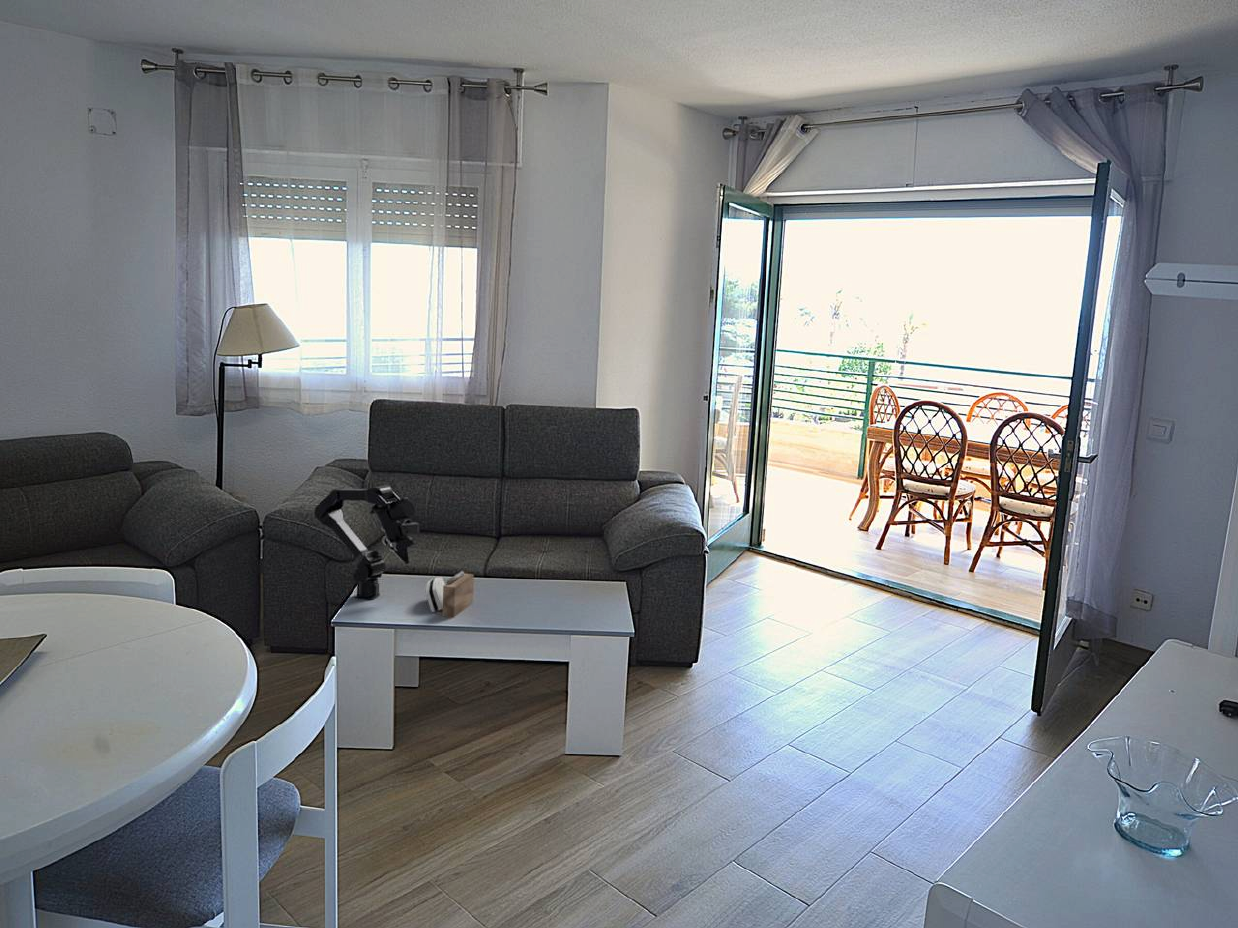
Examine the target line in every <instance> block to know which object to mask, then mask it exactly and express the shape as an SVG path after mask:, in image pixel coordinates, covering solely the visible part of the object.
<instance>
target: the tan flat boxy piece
mask: <svg viewBox="0 0 1238 928" xmlns="http://www.w3.org/2000/svg"><path fill="white" fill-rule="evenodd" d="M474 576H475V575H474V574H471V573H465V572H464V571H462V570H461V571H459V572H458V573H457V574H454V576H452V577H450V578H448V580H446V581H445V582H446V584H445V585H444V586H443V609H442V615H441V616H443V617H450V618H455V617H456V616H458V615H459V614H460V613H461V612H463V611H464V610H465V609H467V608H468V607H469V606H471V605H473V603H474V579H475V578H474Z"/></svg>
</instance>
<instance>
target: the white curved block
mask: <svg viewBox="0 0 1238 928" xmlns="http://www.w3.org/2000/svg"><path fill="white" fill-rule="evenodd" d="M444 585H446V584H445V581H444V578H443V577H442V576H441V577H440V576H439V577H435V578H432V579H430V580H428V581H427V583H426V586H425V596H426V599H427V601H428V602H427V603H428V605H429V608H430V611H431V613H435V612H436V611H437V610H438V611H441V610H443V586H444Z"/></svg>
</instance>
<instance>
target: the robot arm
mask: <svg viewBox="0 0 1238 928" xmlns="http://www.w3.org/2000/svg"><path fill="white" fill-rule="evenodd" d="M345 501H365V502H367V503H368V504H372V505H373V506H372V507H371V510H370V512H369V514H370V515H373V514H374V515H375V516H376V518H377V520H378V522H379V524H380V525H381V526H380V529H381V531H382V532H383V533H384V536H382V538H381V541H382V545H383V546H386V547H387V546H388V544H389V546H390V547H388V549H389V550H390V551H391V552H393V553H394V555H396V556H397V558H399V559H400V560H401V561H402V562H403V563H404V564H405V565H408V564H410V560H409V553H408V548H410V547H411V546H413V545H414V544H415V541H414V539H413V538H412V537H410V536H408V534H419V533H420V528H419V527H420V525H419V523H418V522H414V521H413V522H412V520H411V519H410V518H413V517H414V516H415V512H416V508H415V505H414V504H413V503H412V502H411V501H410V500H409V497H402V498H400V497H399V496H398V495H397V494H396V493H395V492H394V491H393V489H392V488H391V486H389V485H387V484H385V485H380V486H376V487H375V486H374V487H370V488H344V487H341V488H335V489H334V488H333V489H332V490H331V491H330V492H329V494H328V495H327V496H325V498H323V500H321V501H320V502H319V504H318V505H316V506H315V508H314V518H315V519H316V520H317V521H318V522H319V523H320V524H321V525H323V526H325V527H327V528H329V529H331V530H332V531H333V532H334V534H335V535H336V536H337V538H338V539H339V540H340V541H341V542H342V544H343V545H344V546H345V548H347V550H348V551H349V552H350V553H351V555H352V557H354V559H355V563H356V568H357V570H356V571H355V572H353V574H352V577H353V580H354V582H356V595H354V598H355V599H362V600H374V599H375V598H377V597H379V596H380V595H381V593H380V583H379V579H380V578H382V576H383V573H384V571H385V569H386V566H385V565H386V563H385V561H384V557H383V556H381V554H380V553H379V552H378V551H377V549H374V550H372V551H371V550H369V549H368V548H367V547H366V546H365V544H364V543H363V542H362V541H361V540H360V538H359V537H358V536H357V534H355V532H354V531H353V530H352V529H351V528H350V527H349V525H348V524H347V523H346V521H345V520H344V513H343V511H342V509H343V508H344V505H345ZM401 520H404V521H403V523H402V522H401Z"/></svg>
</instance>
